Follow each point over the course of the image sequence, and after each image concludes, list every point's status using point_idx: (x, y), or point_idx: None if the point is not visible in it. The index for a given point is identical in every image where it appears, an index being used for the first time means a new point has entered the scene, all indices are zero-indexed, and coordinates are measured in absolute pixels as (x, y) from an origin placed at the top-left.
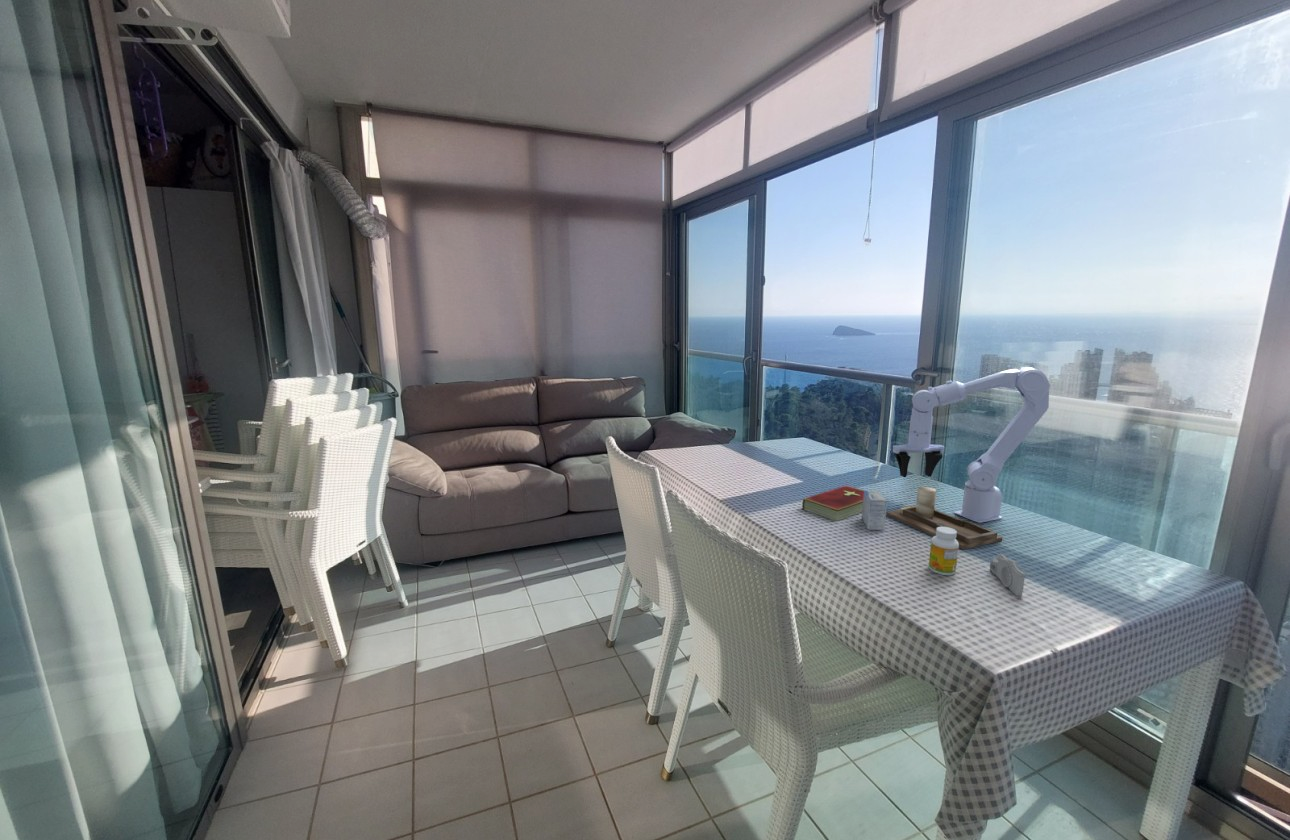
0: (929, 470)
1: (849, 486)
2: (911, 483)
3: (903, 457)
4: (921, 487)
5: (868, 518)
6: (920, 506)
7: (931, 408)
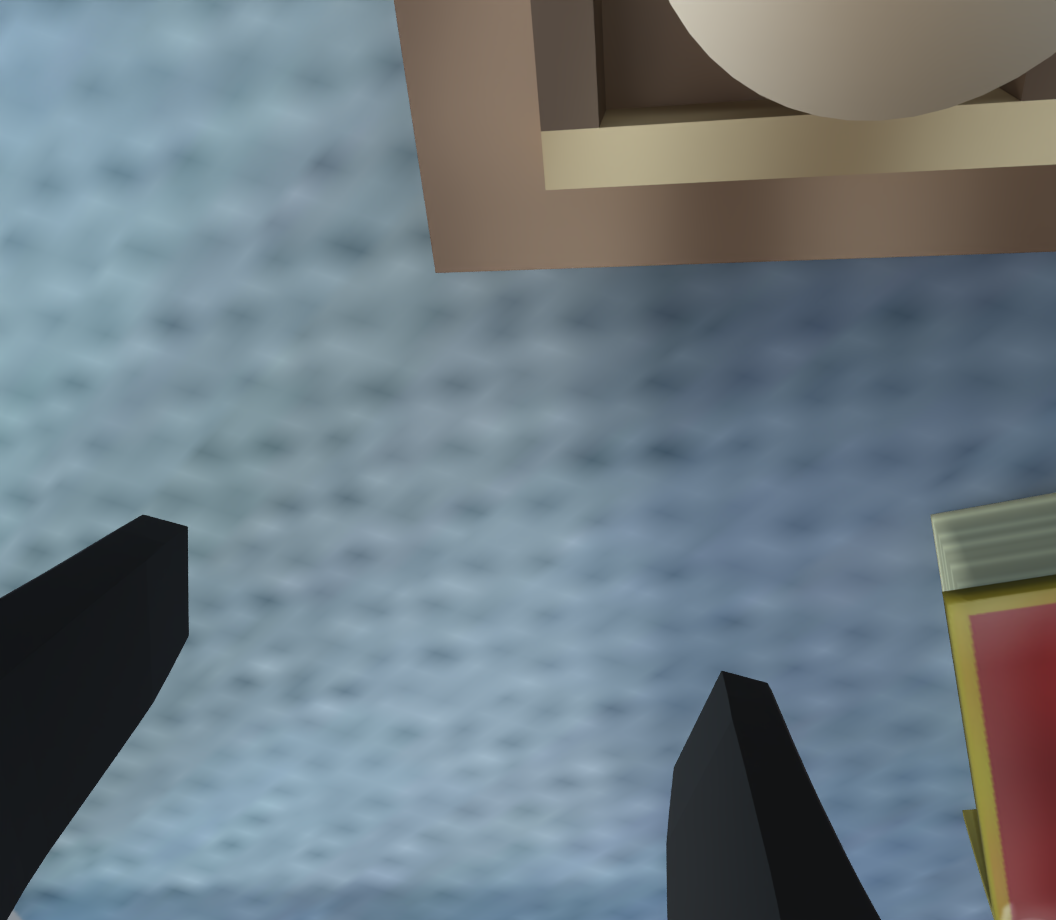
0: (104, 639)
1: (1000, 898)
2: None
3: None
4: (881, 81)
5: None
6: None
7: None
